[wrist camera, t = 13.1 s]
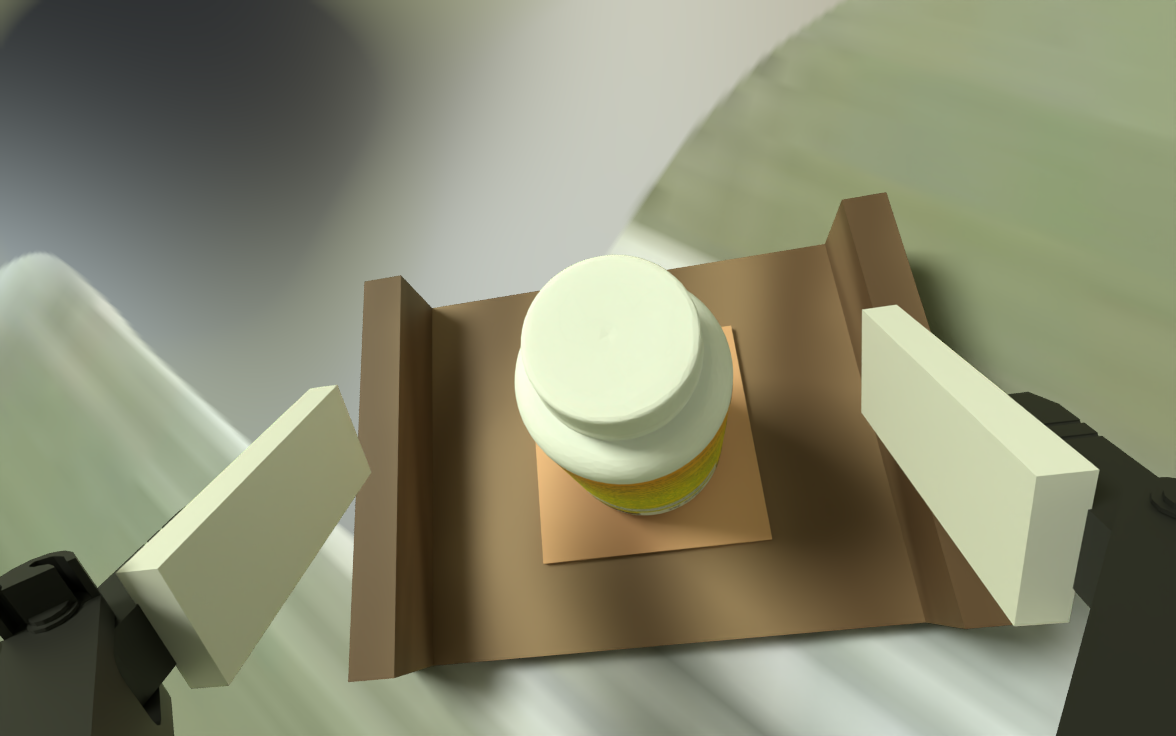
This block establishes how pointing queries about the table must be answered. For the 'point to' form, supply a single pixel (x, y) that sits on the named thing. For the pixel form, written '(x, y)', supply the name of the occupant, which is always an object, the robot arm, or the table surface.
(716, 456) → the supplement bottle
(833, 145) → the table surface
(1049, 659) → the table surface
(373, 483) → the wooden tray with rails
